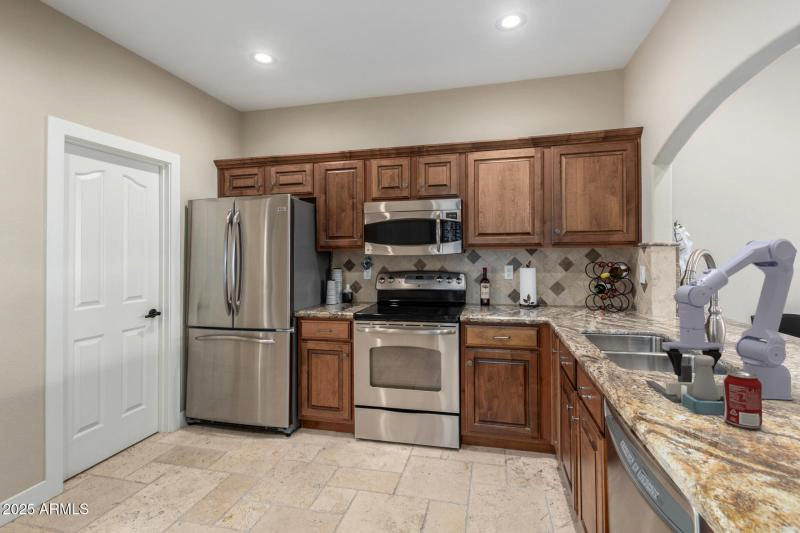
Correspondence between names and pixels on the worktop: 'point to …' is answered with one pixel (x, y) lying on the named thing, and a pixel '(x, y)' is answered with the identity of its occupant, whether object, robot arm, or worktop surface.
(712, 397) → the salt shaker
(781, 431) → the worktop surface
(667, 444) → the worktop surface
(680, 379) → the pusher bar
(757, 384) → the soda can
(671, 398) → the rails
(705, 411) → the frame
